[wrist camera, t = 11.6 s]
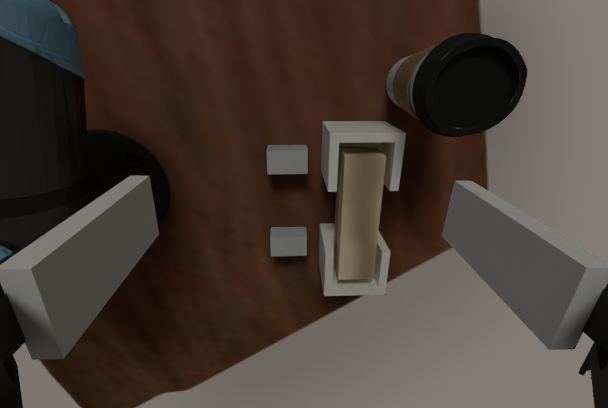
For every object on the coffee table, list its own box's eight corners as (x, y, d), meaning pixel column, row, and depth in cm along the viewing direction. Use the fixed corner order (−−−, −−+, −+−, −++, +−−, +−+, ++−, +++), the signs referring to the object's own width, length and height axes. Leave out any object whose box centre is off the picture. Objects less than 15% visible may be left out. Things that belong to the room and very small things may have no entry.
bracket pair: (318, 261, 48) (324, 296, 41) (322, 121, 40) (330, 133, 33) (370, 260, 49) (384, 294, 41) (384, 121, 40) (406, 132, 33)
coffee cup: (448, 104, 40) (533, 122, 26) (384, 127, 41) (433, 156, 27) (437, 33, 37) (527, 10, 23) (368, 59, 37) (414, 53, 24)
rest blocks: (272, 245, 47) (271, 256, 44) (268, 145, 41) (266, 150, 38) (305, 244, 47) (306, 255, 44) (306, 144, 41) (307, 150, 38)
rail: (333, 258, 45) (338, 279, 40) (338, 146, 38) (344, 156, 34) (364, 257, 45) (373, 279, 40) (374, 145, 38) (386, 156, 34)
